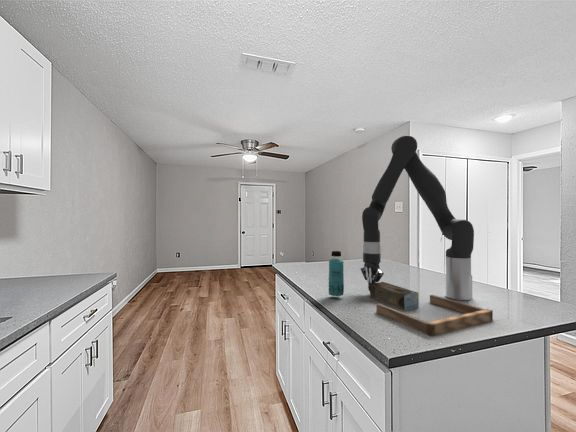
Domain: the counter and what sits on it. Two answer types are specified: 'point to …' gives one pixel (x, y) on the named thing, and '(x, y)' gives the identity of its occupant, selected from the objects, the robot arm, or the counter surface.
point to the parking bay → (444, 325)
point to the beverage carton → (394, 295)
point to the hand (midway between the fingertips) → (371, 290)
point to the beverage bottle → (336, 275)
